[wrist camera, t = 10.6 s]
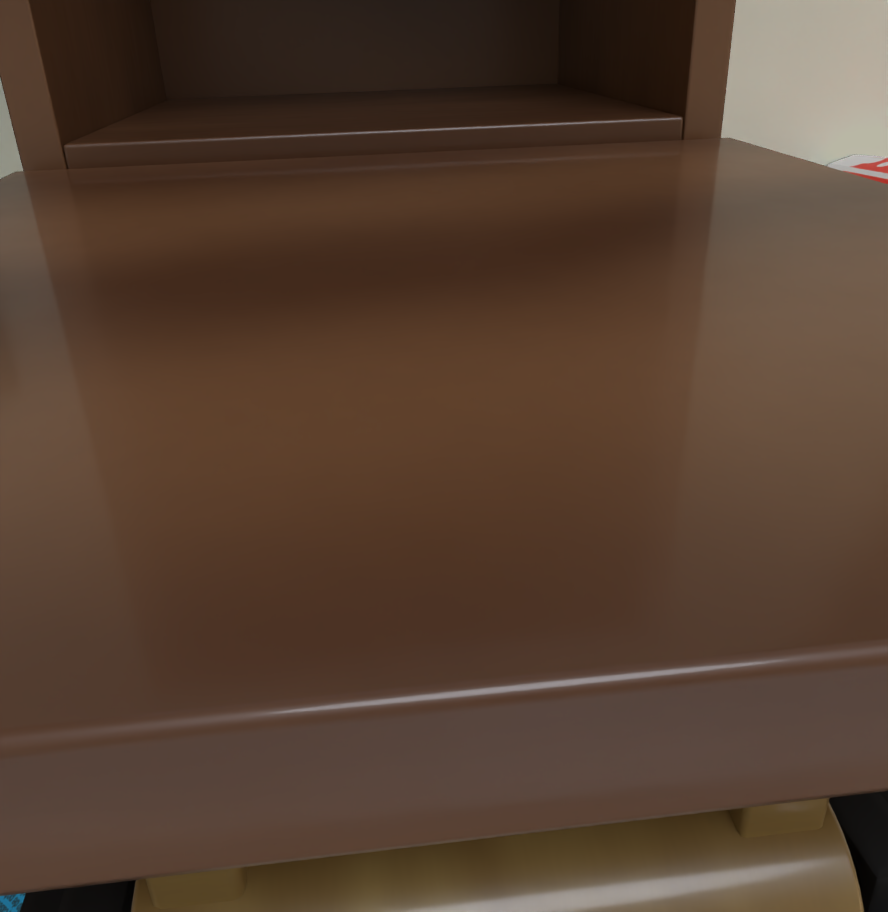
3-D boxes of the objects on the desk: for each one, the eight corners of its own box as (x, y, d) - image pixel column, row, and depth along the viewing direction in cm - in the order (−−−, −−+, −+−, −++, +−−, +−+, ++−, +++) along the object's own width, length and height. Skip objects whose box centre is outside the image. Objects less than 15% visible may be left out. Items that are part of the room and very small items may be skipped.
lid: (-1585, 907, 3) (-564, 1488, 5) (2078, 527, 4) (1448, 1151, 6) (12, 171, 15) (80, 439, 18) (731, 137, 17) (701, 393, 19)
